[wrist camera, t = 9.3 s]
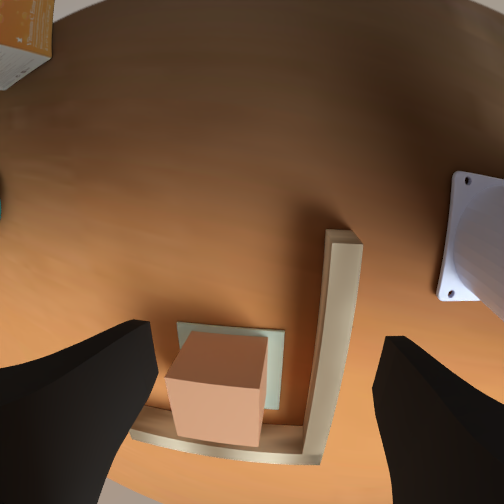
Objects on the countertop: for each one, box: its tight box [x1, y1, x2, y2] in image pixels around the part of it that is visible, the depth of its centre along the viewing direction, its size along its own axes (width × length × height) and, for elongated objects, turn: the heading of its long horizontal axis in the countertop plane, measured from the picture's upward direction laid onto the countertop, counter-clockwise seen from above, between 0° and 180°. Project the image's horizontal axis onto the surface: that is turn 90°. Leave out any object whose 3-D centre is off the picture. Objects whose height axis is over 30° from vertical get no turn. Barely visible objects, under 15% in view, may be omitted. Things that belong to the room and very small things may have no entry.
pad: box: [177, 322, 285, 410], centre depth 20 cm, size 7×7×1 cm
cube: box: [164, 331, 268, 447], centre depth 18 cm, size 5×5×5 cm
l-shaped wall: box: [129, 229, 363, 465], centre depth 19 cm, size 15×17×3 cm
